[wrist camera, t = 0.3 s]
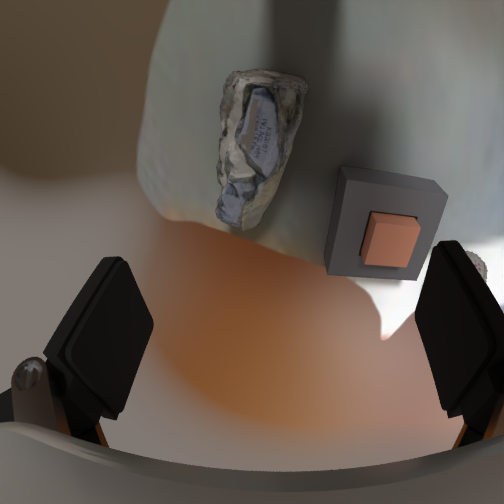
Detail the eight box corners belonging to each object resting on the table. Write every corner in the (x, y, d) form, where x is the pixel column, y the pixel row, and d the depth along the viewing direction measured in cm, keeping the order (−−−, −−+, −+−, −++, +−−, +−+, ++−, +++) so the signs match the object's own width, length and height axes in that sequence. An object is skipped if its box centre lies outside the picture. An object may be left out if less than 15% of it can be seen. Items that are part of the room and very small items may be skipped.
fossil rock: (270, 188, 50) (251, 256, 40) (214, 169, 49) (179, 231, 39) (317, 73, 35) (315, 109, 24) (247, 49, 34) (210, 75, 24)
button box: (340, 165, 43) (347, 179, 38) (433, 180, 42) (448, 195, 37) (323, 254, 52) (327, 274, 48) (407, 260, 51) (416, 280, 47)
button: (371, 211, 41) (376, 222, 39) (413, 217, 41) (420, 227, 38) (360, 252, 45) (364, 264, 43) (400, 255, 45) (406, 267, 42)
